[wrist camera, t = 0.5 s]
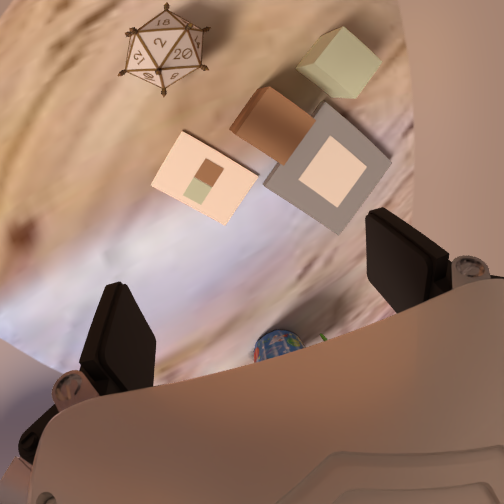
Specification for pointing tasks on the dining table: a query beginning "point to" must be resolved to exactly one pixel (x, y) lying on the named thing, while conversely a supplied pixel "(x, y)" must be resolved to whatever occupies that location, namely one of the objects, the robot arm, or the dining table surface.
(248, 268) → the dining table surface
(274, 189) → the plate
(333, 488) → the robot arm
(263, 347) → the snack cup
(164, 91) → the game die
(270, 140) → the walnut block
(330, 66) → the sage block
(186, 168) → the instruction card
